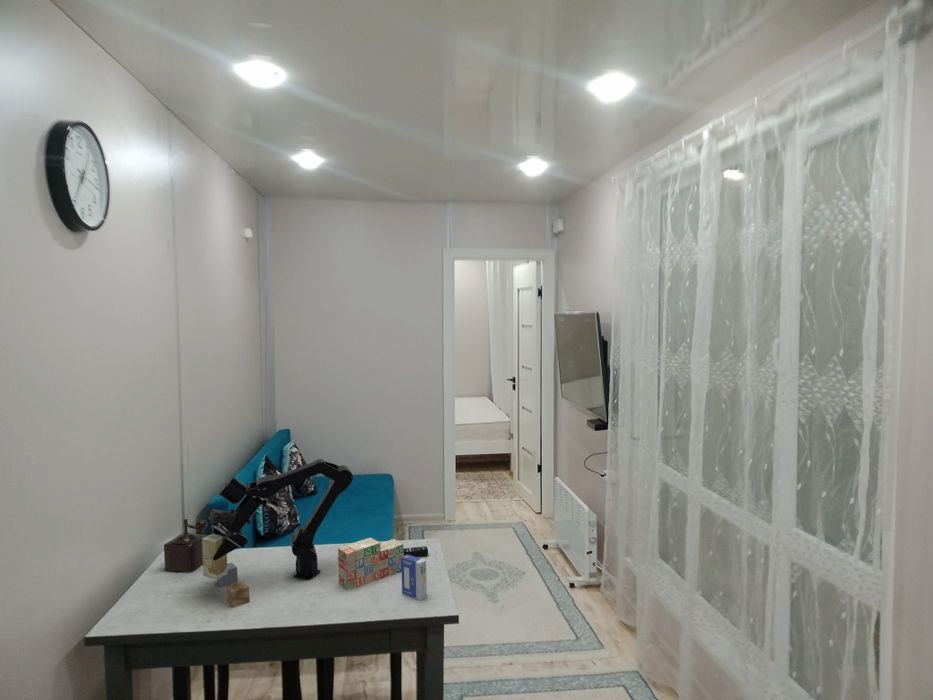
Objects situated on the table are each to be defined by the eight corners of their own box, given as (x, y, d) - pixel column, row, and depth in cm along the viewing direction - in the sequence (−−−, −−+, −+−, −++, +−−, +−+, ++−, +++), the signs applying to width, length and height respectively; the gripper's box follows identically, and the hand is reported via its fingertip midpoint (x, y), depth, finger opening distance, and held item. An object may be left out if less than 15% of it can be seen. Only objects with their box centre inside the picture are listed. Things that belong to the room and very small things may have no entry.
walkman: (402, 593, 178) (401, 556, 177) (407, 589, 180) (407, 553, 179) (421, 600, 173) (420, 562, 172) (427, 596, 175) (426, 559, 174)
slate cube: (232, 576, 190) (231, 562, 190) (237, 582, 187) (237, 567, 186) (216, 581, 187) (216, 566, 187) (222, 587, 183) (221, 572, 183)
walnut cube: (243, 596, 177) (243, 580, 177) (249, 602, 174) (249, 586, 173) (227, 601, 174) (226, 586, 174) (232, 608, 170) (232, 592, 170)
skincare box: (202, 576, 176) (200, 538, 176) (214, 570, 180) (212, 533, 180) (217, 580, 174) (215, 541, 173) (228, 574, 177) (226, 536, 177)
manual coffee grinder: (162, 572, 194) (159, 521, 193) (182, 558, 205) (179, 509, 204) (205, 574, 192) (202, 522, 191) (222, 559, 203) (220, 510, 202)
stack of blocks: (394, 564, 198) (393, 530, 197) (404, 570, 193) (403, 535, 193) (338, 583, 185) (337, 546, 184) (347, 590, 180) (346, 553, 179)
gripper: (215, 492, 185) (180, 534, 179) (235, 506, 171) (198, 553, 164) (241, 509, 191) (208, 551, 184) (262, 525, 176) (227, 570, 170)
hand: (209, 555), depth 176 cm, fingers closed on skincare box, 7 cm apart
